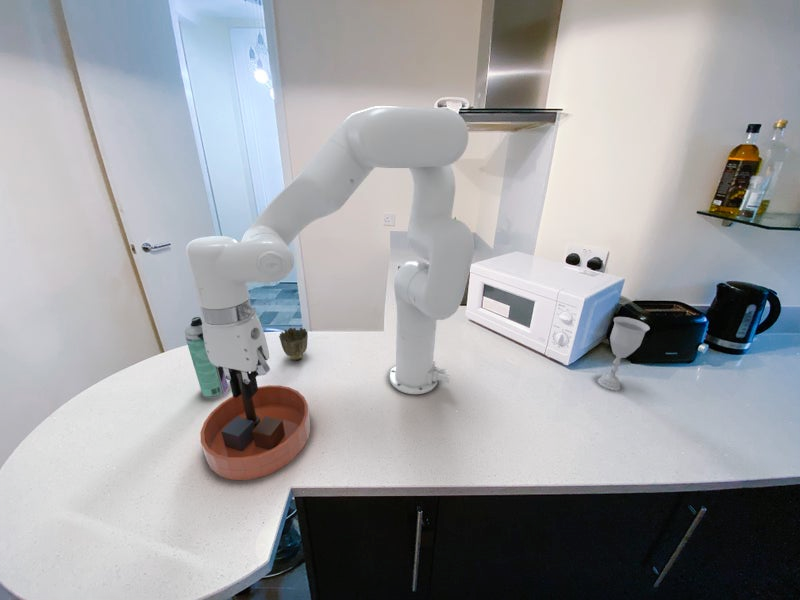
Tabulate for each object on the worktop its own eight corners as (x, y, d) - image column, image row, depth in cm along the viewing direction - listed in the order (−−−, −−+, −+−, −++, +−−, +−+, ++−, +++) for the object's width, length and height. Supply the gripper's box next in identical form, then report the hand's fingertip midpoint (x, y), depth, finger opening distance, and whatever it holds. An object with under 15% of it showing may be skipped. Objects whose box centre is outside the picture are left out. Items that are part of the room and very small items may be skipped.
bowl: (326, 413, 70) (324, 394, 68) (275, 494, 53) (270, 472, 51) (251, 397, 75) (247, 378, 72) (182, 467, 57) (174, 446, 55)
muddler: (263, 422, 66) (252, 367, 60) (254, 432, 64) (242, 376, 58) (251, 419, 67) (239, 365, 61) (242, 429, 64) (229, 374, 58)
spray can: (233, 387, 78) (216, 315, 69) (215, 402, 73) (194, 326, 65) (216, 382, 79) (197, 311, 71) (197, 396, 74) (174, 321, 66)
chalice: (589, 383, 83) (610, 323, 75) (596, 372, 87) (616, 314, 80) (622, 396, 78) (647, 334, 71) (627, 384, 83) (651, 324, 75)
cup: (313, 351, 93) (311, 327, 89) (304, 366, 86) (301, 341, 83) (289, 349, 93) (286, 326, 90) (278, 364, 87) (274, 339, 83)
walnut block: (285, 434, 64) (282, 420, 62) (273, 450, 61) (270, 435, 59) (267, 430, 65) (264, 416, 63) (255, 446, 61) (251, 431, 60)
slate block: (256, 435, 64) (253, 420, 62) (242, 451, 60) (238, 436, 59) (240, 430, 65) (236, 416, 63) (225, 446, 61) (220, 431, 60)
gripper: (280, 306, 56) (292, 389, 63) (206, 296, 59) (225, 375, 67) (253, 326, 49) (270, 416, 57) (170, 313, 52) (196, 399, 60)
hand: (246, 393), depth 62 cm, fingers closed on muddler
